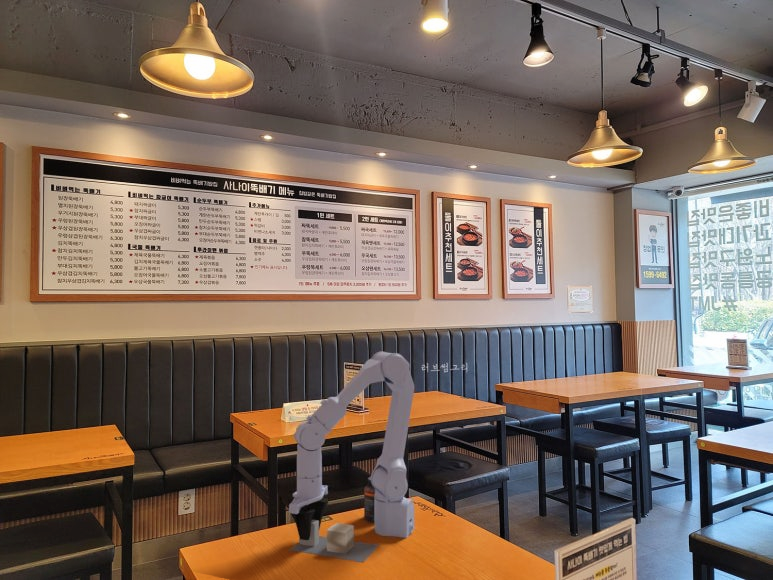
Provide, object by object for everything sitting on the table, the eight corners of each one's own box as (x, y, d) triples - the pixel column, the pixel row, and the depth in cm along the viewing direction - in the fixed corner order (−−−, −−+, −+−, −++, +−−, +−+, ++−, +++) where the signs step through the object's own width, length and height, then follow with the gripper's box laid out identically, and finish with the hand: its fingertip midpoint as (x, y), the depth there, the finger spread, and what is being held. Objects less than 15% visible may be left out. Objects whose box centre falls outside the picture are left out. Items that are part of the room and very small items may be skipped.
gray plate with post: (379, 549, 119) (378, 522, 120) (363, 567, 111) (362, 537, 111) (309, 538, 126) (309, 513, 126) (289, 554, 117) (289, 526, 118)
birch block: (353, 545, 119) (353, 525, 119) (345, 554, 115) (345, 533, 115) (335, 543, 121) (335, 522, 121) (326, 551, 117) (326, 530, 117)
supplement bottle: (384, 527, 132) (384, 482, 133) (361, 526, 133) (361, 480, 134) (389, 519, 138) (388, 475, 139) (367, 517, 139) (367, 474, 140)
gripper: (309, 465, 130) (309, 521, 129) (277, 482, 116) (277, 545, 115) (335, 468, 127) (335, 525, 126) (305, 485, 114) (305, 550, 113)
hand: (309, 535), depth 121 cm, fingers open, 4 cm apart
